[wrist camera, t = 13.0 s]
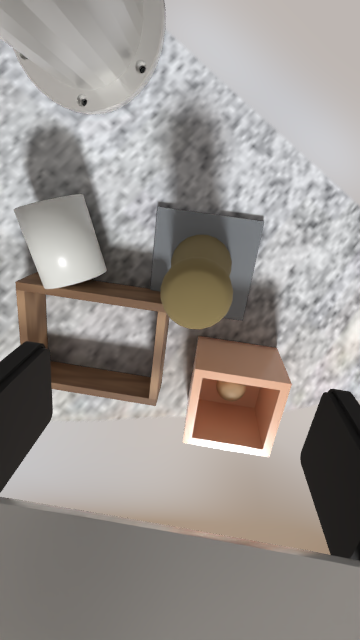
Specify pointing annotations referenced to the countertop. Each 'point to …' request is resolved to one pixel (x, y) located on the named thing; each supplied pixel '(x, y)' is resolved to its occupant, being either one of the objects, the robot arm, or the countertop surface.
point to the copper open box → (244, 414)
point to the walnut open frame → (87, 378)
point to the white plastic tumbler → (61, 240)
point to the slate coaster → (229, 230)
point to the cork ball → (230, 390)
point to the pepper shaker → (198, 283)
